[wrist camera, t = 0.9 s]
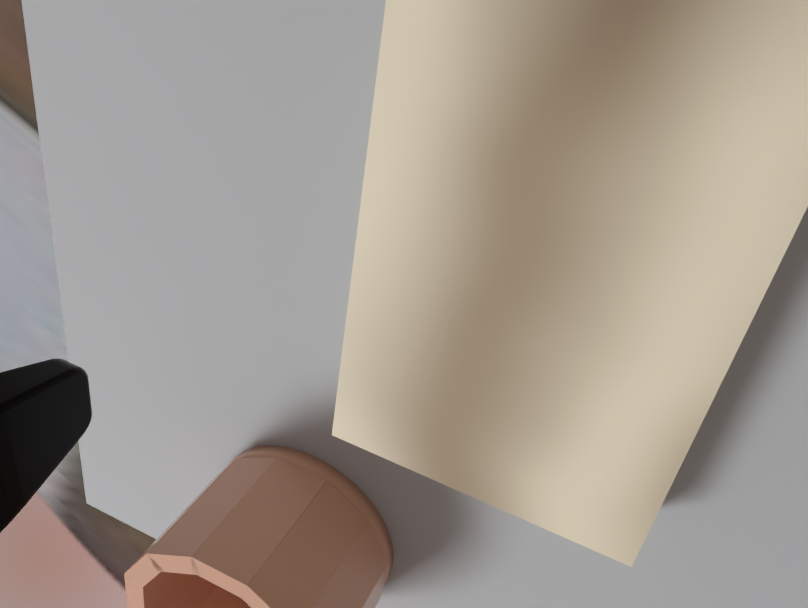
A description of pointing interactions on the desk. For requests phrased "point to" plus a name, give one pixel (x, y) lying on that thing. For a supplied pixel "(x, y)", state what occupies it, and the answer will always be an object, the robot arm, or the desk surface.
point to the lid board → (567, 243)
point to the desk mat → (335, 311)
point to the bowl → (268, 541)
